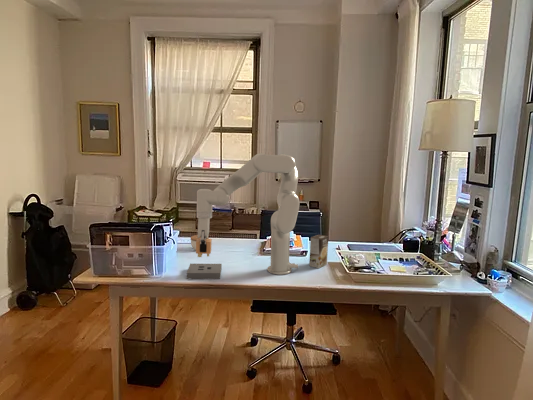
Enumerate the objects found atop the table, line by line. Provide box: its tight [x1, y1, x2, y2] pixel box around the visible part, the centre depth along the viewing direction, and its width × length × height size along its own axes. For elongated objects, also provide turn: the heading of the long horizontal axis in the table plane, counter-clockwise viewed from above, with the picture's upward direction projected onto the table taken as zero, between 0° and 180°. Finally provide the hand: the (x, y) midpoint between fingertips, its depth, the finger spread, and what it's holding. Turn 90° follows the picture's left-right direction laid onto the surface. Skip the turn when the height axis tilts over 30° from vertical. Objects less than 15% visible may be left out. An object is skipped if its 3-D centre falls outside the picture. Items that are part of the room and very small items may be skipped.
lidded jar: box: [190, 234, 210, 252], centre depth 237 cm, size 11×11×9 cm
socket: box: [186, 263, 223, 280], centre depth 196 cm, size 16×14×3 cm
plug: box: [195, 238, 212, 258], centre depth 194 cm, size 7×6×8 cm
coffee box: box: [309, 234, 329, 269], centre depth 213 cm, size 9×6×16 cm
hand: (203, 249), depth 194 cm, fingers closed on plug, 6 cm apart
